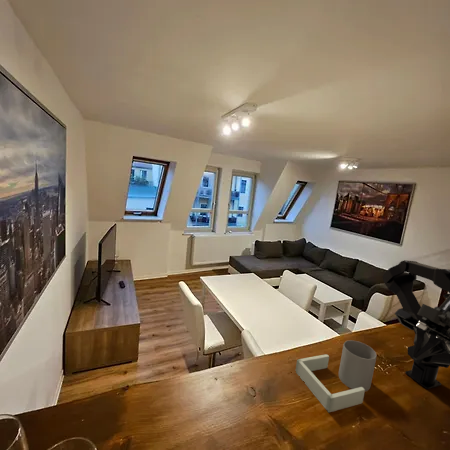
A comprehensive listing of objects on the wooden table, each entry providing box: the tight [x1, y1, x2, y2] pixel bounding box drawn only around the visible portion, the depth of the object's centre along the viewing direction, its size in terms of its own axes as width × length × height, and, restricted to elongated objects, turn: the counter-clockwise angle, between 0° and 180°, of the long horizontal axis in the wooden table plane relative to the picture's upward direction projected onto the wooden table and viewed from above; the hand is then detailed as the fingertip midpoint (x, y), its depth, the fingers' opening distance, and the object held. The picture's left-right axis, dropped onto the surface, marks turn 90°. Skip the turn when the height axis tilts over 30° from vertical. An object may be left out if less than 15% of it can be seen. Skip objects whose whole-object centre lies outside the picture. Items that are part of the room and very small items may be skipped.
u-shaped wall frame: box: [295, 354, 366, 413], centre depth 69 cm, size 11×14×4 cm
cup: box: [338, 339, 377, 392], centre depth 72 cm, size 8×8×10 cm
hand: (414, 358), depth 64 cm, fingers closed
